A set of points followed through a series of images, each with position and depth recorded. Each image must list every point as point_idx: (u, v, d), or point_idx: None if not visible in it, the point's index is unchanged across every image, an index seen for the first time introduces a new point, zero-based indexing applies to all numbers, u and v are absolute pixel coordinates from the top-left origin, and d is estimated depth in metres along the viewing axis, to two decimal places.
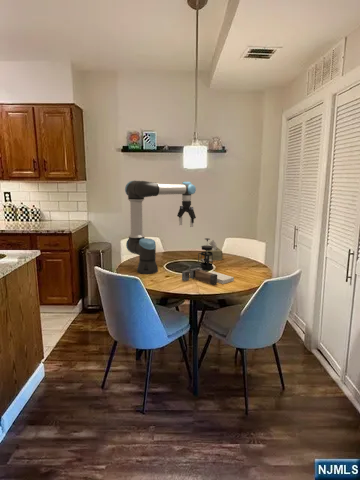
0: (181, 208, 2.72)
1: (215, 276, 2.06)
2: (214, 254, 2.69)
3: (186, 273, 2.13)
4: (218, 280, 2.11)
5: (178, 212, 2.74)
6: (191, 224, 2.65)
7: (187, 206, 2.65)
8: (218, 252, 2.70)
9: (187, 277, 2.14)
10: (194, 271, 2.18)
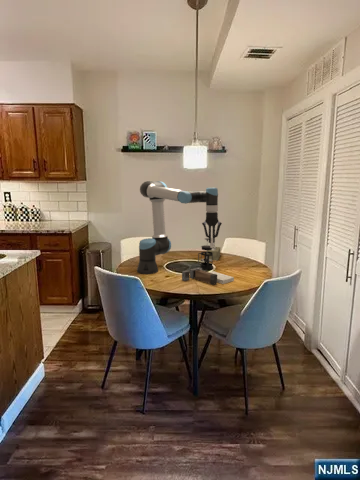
0: None
1: (215, 276, 2.06)
2: None
3: (186, 273, 2.13)
4: (218, 280, 2.11)
5: (205, 232, 2.09)
6: None
7: (217, 218, 2.08)
8: (213, 252, 2.69)
9: (187, 277, 2.14)
10: (194, 271, 2.18)
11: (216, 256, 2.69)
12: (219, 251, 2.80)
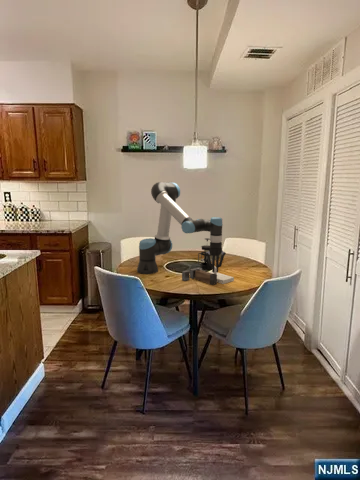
0: (209, 254, 2.06)
1: (215, 276, 2.05)
2: None
3: (186, 273, 2.13)
4: (218, 280, 2.11)
5: (209, 261, 2.06)
6: (216, 274, 2.09)
7: (221, 248, 2.06)
8: None
9: (187, 277, 2.14)
10: (194, 271, 2.18)
11: None
12: None
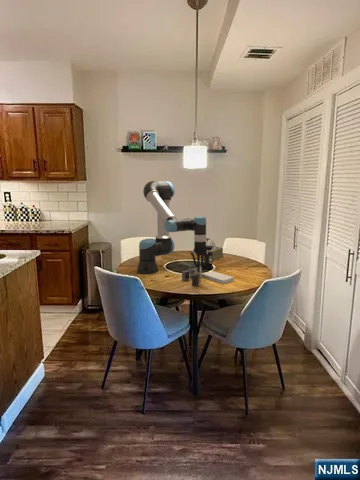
0: (193, 254, 2.05)
1: (195, 277, 2.02)
2: None
3: (186, 273, 2.13)
4: (218, 280, 2.11)
5: (194, 261, 2.05)
6: (201, 274, 2.07)
7: (205, 248, 2.04)
8: None
9: (187, 277, 2.14)
10: (194, 271, 2.18)
11: None
12: (219, 251, 2.78)
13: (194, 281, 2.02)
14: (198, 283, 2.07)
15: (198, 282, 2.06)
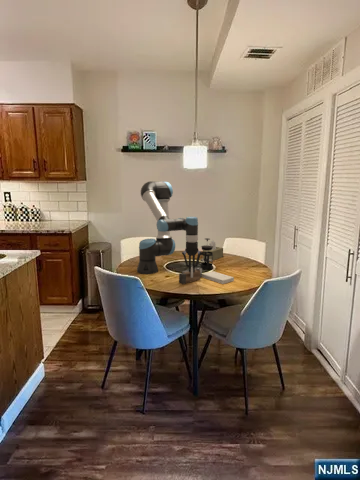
0: None
1: (181, 275, 2.06)
2: None
3: None
4: (218, 280, 2.11)
5: (185, 261, 2.05)
6: (192, 274, 2.08)
7: (197, 248, 2.04)
8: None
9: None
10: None
11: (211, 256, 2.70)
12: (219, 252, 2.78)
13: (180, 279, 2.07)
14: (187, 282, 2.09)
15: (187, 281, 2.09)
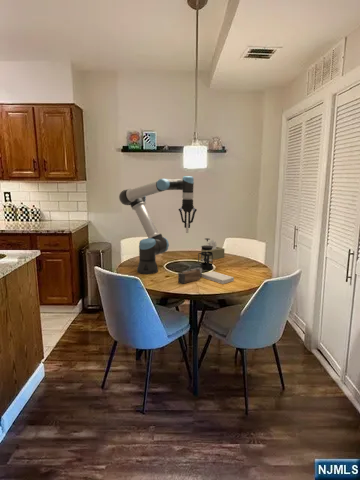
0: None
1: (180, 275, 2.07)
2: None
3: None
4: (218, 280, 2.11)
5: (181, 217, 2.24)
6: None
7: (192, 205, 2.23)
8: (205, 251, 2.73)
9: None
10: None
11: None
12: (218, 252, 2.76)
13: (179, 278, 2.08)
14: (186, 281, 2.09)
15: (186, 280, 2.09)
